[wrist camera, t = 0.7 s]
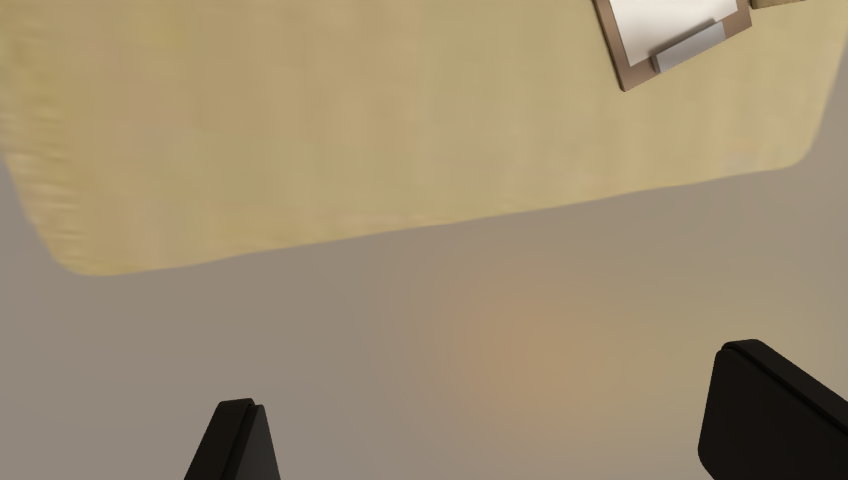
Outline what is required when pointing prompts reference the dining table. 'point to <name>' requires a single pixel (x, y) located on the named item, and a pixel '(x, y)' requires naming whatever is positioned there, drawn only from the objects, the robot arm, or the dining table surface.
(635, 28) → the clipboard
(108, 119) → the dining table surface
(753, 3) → the wooden box
